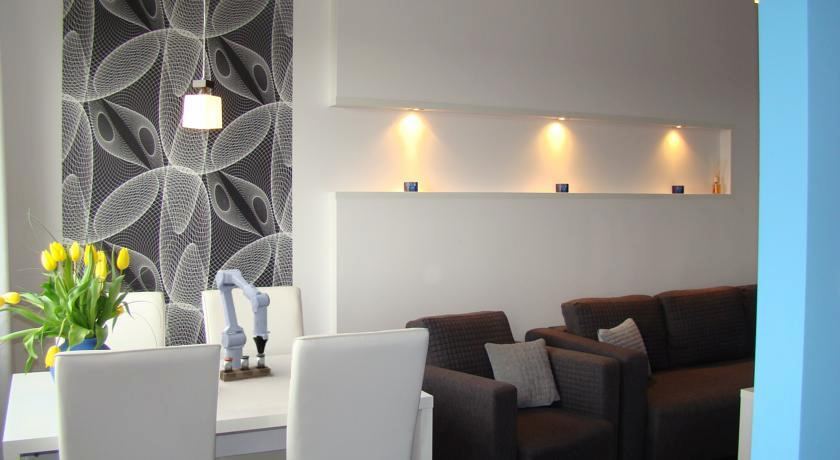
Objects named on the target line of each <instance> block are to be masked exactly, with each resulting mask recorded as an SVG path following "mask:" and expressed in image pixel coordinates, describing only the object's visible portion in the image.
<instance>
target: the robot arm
mask: <svg viewBox="0 0 840 460" xmlns="http://www.w3.org/2000/svg"><path fill="white" fill-rule="evenodd" d="M214 278H215V283H216V288H217V290H218V293H219V297H220V298H219V299H220V302H221V307H222V308H221V309H222V312H223V313H222V314H223V318H224V324H225V328H224V329H223V331H221V333H220V334H221V345H222V347H223V348H224V349H225V350H224V355H223V356H224V358H228V357H231V358H233V360H232V369H236V368H241V358H240V357H241V356H244V355H243V354H244V353H243V352H244V351H243V348H244V347H245V345H246V344H247V342H248V341H247V335H246V333H245V329H244V328H243V327H241V326H240V325H239V323H238V319H237V313H236V308H235V301H234V297H233V293H232V291H233V289H235V288H236V287H238V288H239V289H241V290H242V294H243V296H245V298H246V299H248V300H249V301H250V302H249V303H250V305H251V309H252V312H253V329H252V334H253V335H254V336H253V337H252V339H253V341H254V344H255V347H256V351H257V354H265V349H266V345H267V343H268V340H269V334H271V331H269V330H268V307H269V306H270V303H271V298H270V296H269V294H268V293H266V292H261V291H260V290H259V288H257V287H256V286H255V284H249V283H248V282H247V281H246V280H245V278H244V277H243V273H242V271H240V269H238V268H235V269H224V270H223V269H219V270H217V273H216V274H215V277H214ZM222 367H223V368H225V364H222Z"/></svg>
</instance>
